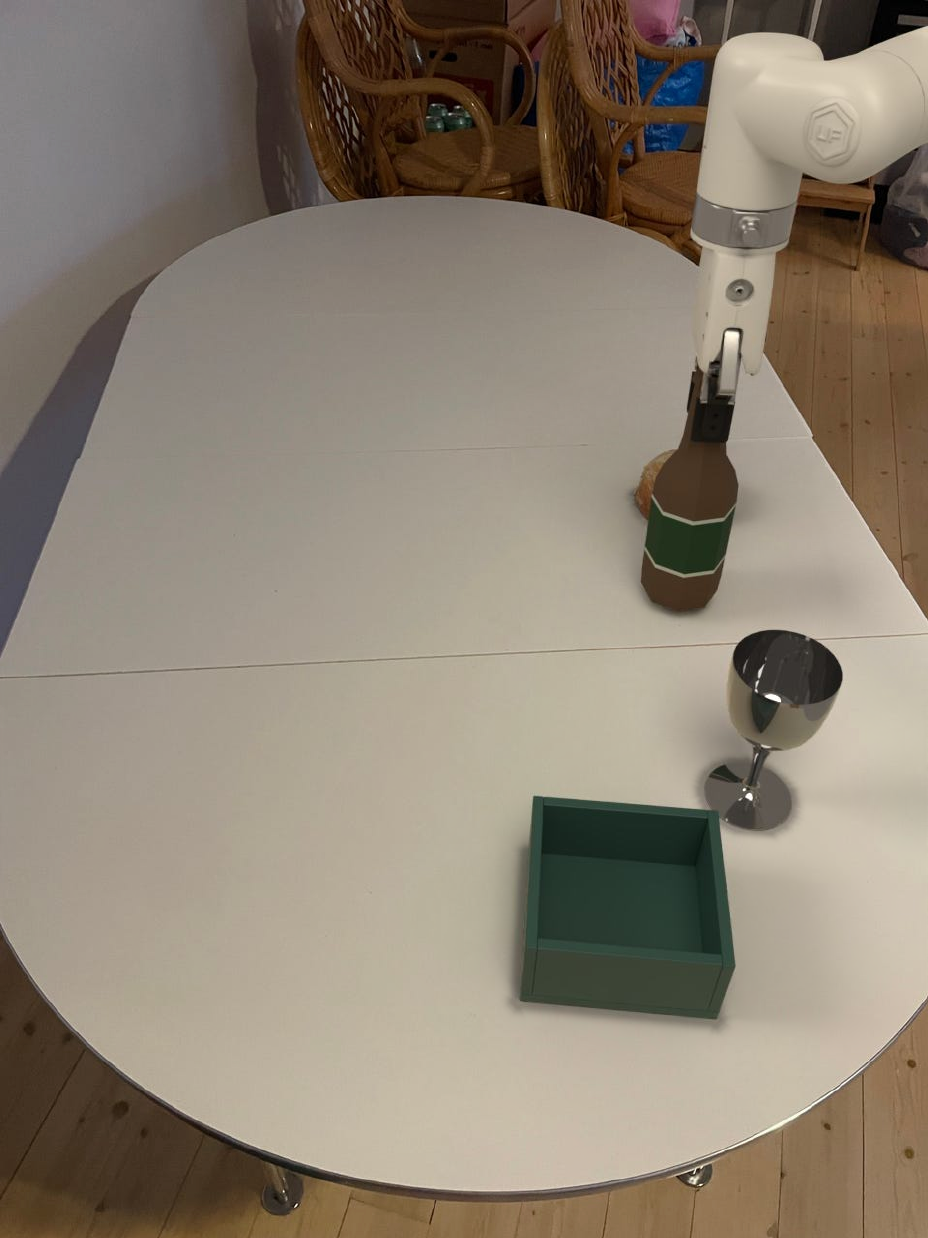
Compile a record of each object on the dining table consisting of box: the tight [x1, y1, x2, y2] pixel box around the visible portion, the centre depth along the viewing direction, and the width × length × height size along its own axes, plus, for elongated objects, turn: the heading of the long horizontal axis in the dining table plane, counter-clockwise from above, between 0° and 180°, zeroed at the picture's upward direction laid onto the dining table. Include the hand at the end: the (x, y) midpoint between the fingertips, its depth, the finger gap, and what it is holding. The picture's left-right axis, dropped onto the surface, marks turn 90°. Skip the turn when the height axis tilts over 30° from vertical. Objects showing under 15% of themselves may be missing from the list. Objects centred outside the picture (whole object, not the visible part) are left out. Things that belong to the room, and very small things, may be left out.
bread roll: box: [633, 448, 678, 520], centre depth 116 cm, size 10×10×8 cm
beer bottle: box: [640, 363, 739, 613], centre depth 96 cm, size 8×8×24 cm
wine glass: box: [703, 629, 844, 831], centre depth 81 cm, size 8×8×15 cm
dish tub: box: [519, 795, 736, 1020], centre depth 75 cm, size 14×13×7 cm
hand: (706, 424), depth 92 cm, fingers closed on beer bottle, 3 cm apart
